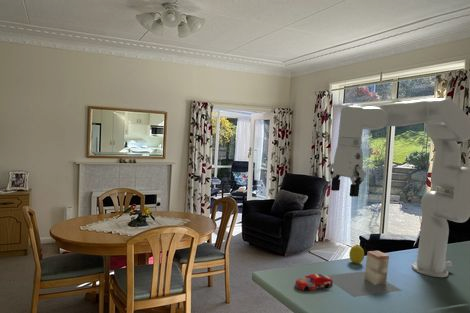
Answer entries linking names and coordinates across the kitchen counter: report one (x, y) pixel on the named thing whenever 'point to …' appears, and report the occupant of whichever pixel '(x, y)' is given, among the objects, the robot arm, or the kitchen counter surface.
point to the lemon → (356, 254)
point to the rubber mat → (360, 284)
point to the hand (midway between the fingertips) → (344, 193)
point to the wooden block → (376, 267)
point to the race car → (314, 282)
